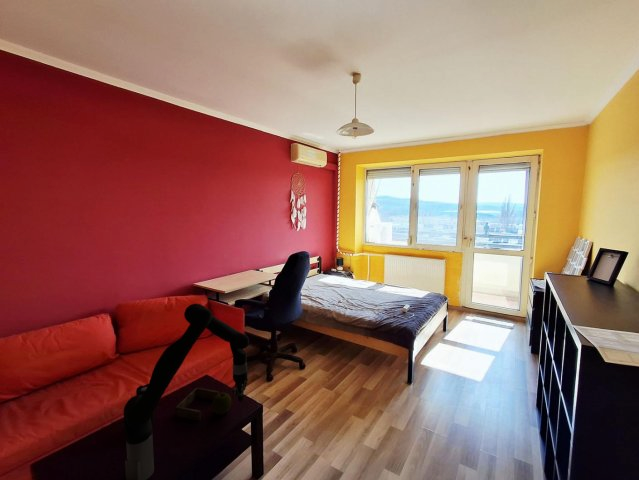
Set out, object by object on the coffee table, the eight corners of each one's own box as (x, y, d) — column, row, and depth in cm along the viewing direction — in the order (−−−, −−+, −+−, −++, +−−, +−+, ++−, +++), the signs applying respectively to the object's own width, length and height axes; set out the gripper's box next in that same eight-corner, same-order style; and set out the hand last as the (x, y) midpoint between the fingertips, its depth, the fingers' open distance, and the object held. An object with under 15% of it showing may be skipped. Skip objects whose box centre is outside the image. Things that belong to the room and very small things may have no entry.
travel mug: (147, 431, 146) (145, 393, 144) (134, 428, 148) (132, 391, 145) (158, 420, 153) (156, 384, 151) (145, 418, 155) (144, 382, 153)
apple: (228, 418, 156) (227, 399, 155) (209, 418, 156) (209, 398, 155) (233, 405, 166) (233, 387, 165) (216, 405, 166) (215, 387, 165)
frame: (199, 420, 154) (199, 411, 153) (175, 416, 157) (175, 407, 156) (218, 399, 171) (218, 391, 171) (196, 395, 174) (196, 387, 174)
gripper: (240, 378, 148) (241, 410, 150) (252, 364, 161) (252, 394, 163) (227, 376, 150) (227, 407, 152) (239, 362, 163) (240, 392, 165)
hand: (240, 400), depth 158 cm, fingers closed
